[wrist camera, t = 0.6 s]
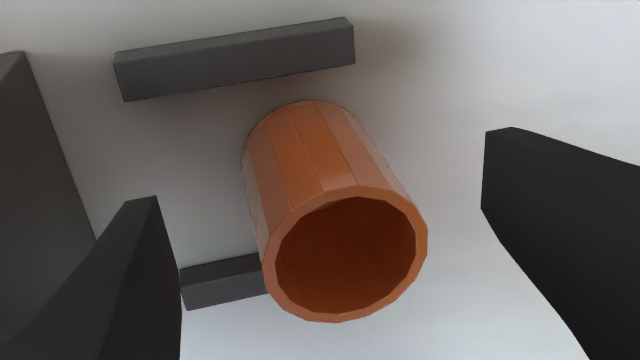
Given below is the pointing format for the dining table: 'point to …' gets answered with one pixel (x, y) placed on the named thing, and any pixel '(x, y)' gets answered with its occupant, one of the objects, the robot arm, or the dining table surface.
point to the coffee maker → (135, 84)
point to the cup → (329, 215)
